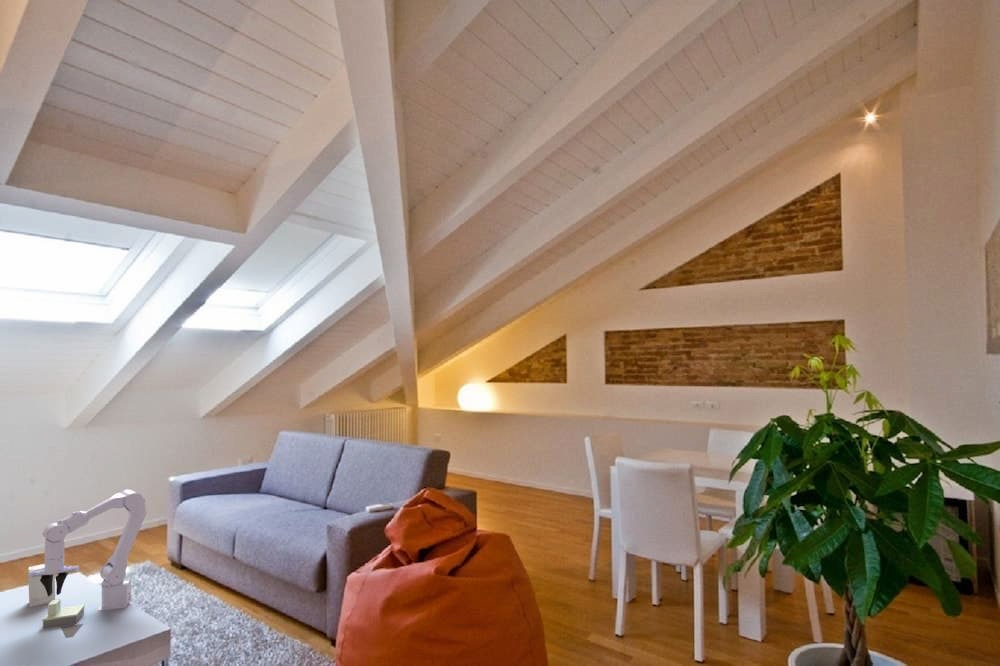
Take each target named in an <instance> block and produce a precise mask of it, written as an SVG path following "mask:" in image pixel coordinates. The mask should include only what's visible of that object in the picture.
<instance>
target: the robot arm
mask: <svg viewBox="0 0 1000 666" xmlns="http://www.w3.org/2000/svg"><path fill="white" fill-rule="evenodd" d="M145 501H146V499H145V498H144V496H143V495H142V494H141V493H138V492H136V491H134V490H133V489H131V488H130V489H124V490H122V491H120V492H117V493H115V494H114V495H112V496H111V497H109V498H107V499H105V500H104V501H101V502H99V503H98V504H96V505H94V506H93V507H91V508H89V509H88V510H86V511H83V510H79V511H73V512H71V515H69V516H67V517H65V518H63V519H58V520H57V522H53V523H50V524H48V525H46V527H45V528H44V529H43V532H42V535H43V536H42V537H44V538H45V539H44V540H45V541H44V564H45V569H41V570H36V571H31V572H30V573H29V578H33V577H39V576H41V579H40V582H41V583H42V584H43V585H44V587H45V589H46V592H47V595H48V596H50V595H51V594H52V581H53V575H55V585H56V589H55V595H57V596H59V595H60V594H62V590H63V589H62V588H63V585H64V582H65V581H66V579H67V577H68V575H69V574H70V573H73V574H76V573H78V572H79V571H80V565H65V538H66V536H67V535H68V534H71V533H73V532H75V531H76V530H78V529H80V528H82V527H84V526H85V525H88V523H89V522H90V520H91V519H93V518H95V517H97V516H99V515H102V514H103V513H106V512H107V511H110V510H112V509H124V508H125V510H126V511H127V513H128V514H129V517H128V519H127V522H126V524H125V526H124V529H123V530H122V533H121V535H120V537H119V540H118V542H117V545H116V547H115V549H114V552H113V554H112V556H110V557H109V558H108V559H107V562H106V563H105V565H103V567H102V568H101V570H100V573H99V575H100V577H101V578H102V579H103V580H102V583H101V605H100V607H99V608H98V609H97V611H98V612H102V611H107V610H115V609H116V610H117V609H122V608H123V609H125V608H127V607H128V605H129V604H130V602H131V601H132V582H131V580H125V579H126V575H127V573H126V570H127V567H128V558H129V555H130V552H131V550H132V548H133V546H134V544H135V541H136V538H137V536H138V534H139V531H140V529H141V527H142V525H143V523H144V520H145V518H146V515H147V510H146V505H145V504H146V503H145ZM128 603H129V604H128Z"/></svg>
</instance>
